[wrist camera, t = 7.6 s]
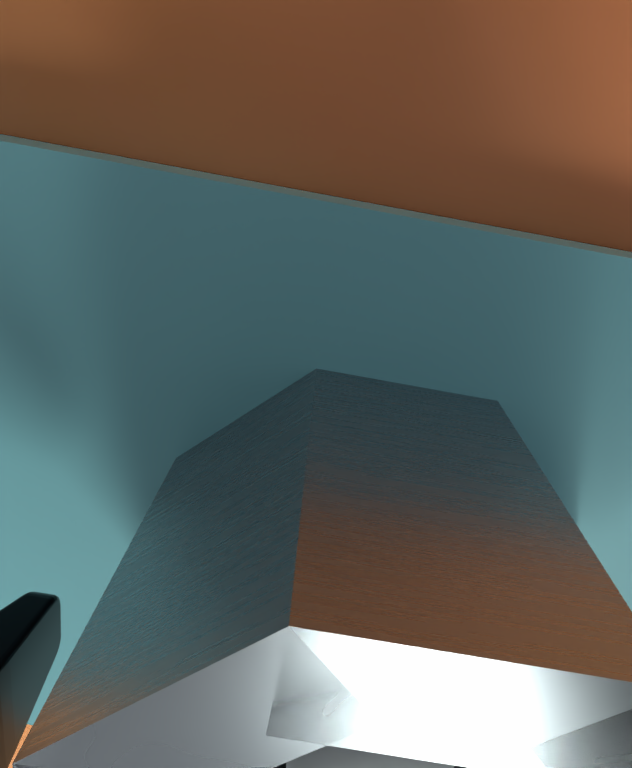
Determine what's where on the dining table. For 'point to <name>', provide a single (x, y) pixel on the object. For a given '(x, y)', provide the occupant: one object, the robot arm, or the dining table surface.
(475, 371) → the shaft base
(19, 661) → the robot arm
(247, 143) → the dining table surface
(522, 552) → the block
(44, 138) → the dining table surface
